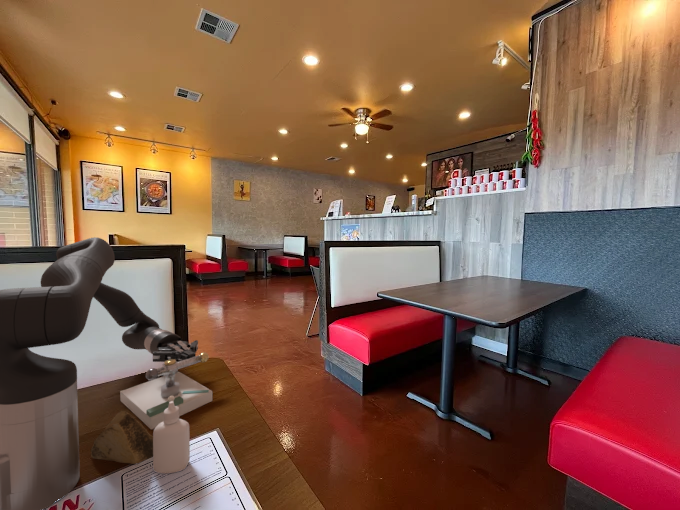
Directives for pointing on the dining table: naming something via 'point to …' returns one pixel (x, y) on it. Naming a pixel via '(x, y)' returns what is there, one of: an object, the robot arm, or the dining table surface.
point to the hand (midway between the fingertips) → (192, 358)
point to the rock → (123, 441)
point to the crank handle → (174, 368)
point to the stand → (164, 398)
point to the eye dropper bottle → (171, 442)
